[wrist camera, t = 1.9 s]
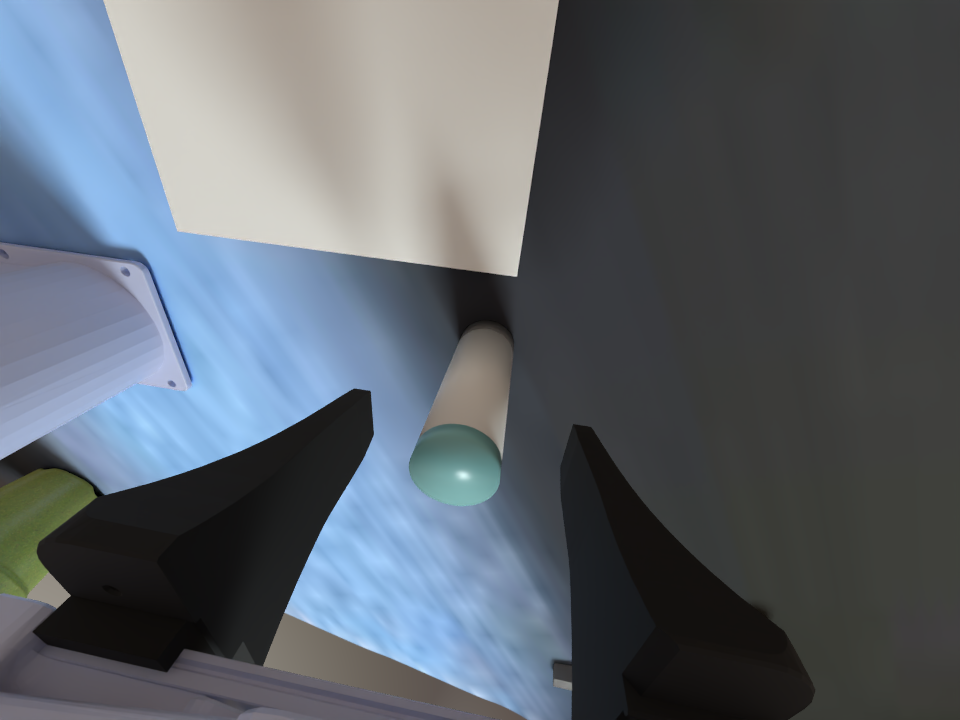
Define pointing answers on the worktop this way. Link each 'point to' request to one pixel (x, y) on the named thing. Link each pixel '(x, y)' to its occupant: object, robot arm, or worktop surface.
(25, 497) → the plant pot
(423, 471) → the marker
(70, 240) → the worktop surface
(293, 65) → the notepad
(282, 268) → the worktop surface
